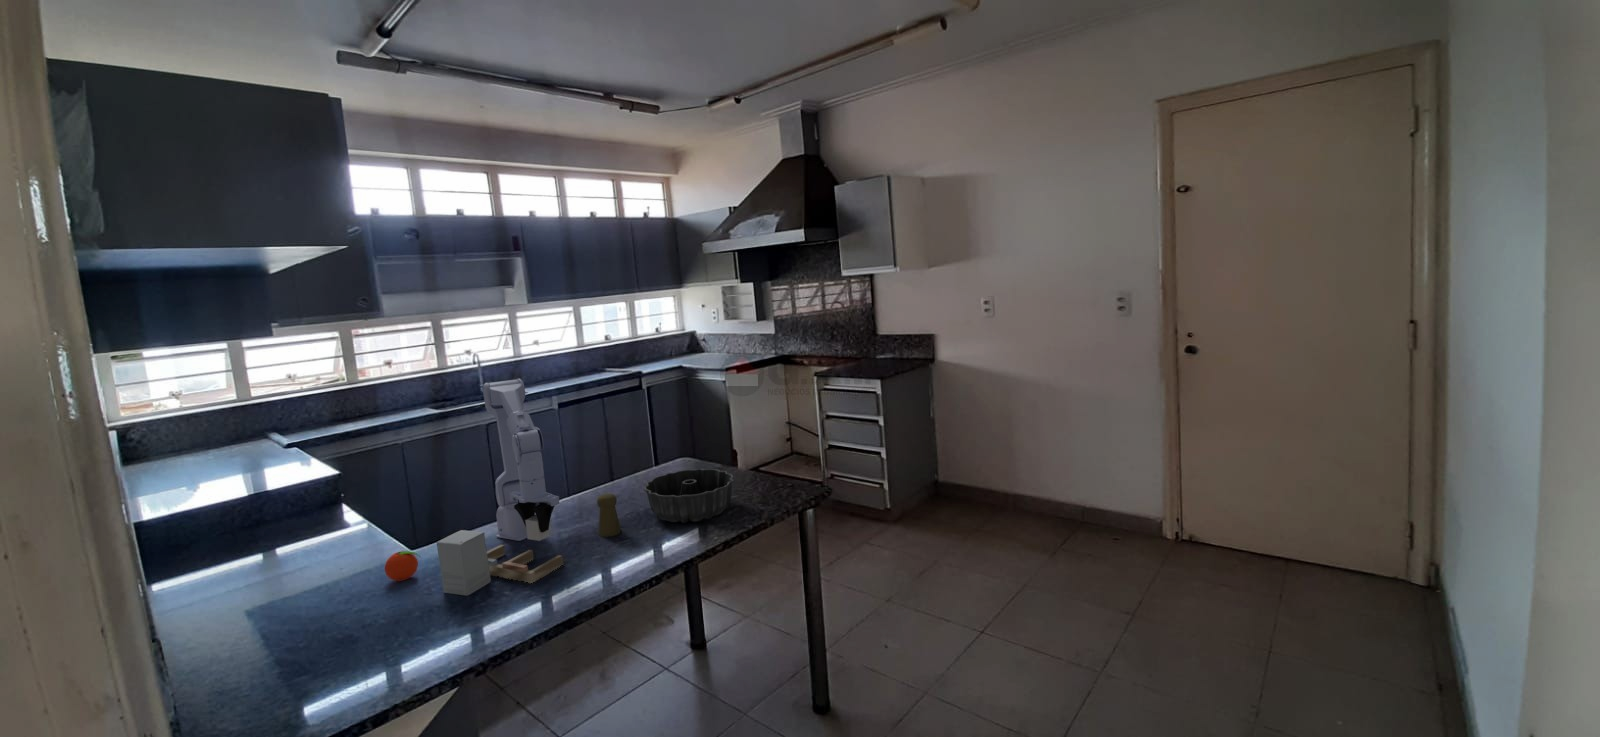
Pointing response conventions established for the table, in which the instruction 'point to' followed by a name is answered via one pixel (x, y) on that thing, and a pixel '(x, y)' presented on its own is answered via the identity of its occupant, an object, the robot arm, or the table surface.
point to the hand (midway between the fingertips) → (537, 529)
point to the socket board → (520, 565)
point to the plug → (536, 529)
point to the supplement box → (463, 562)
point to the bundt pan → (690, 494)
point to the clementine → (401, 565)
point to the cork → (608, 516)
